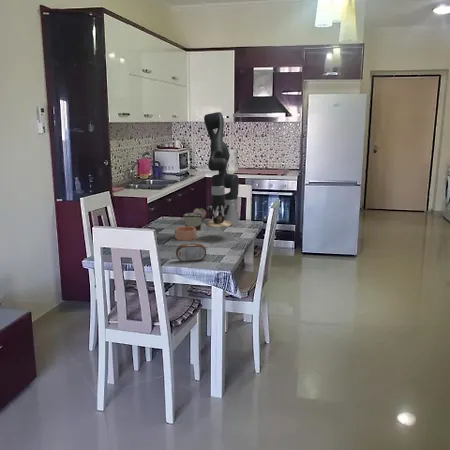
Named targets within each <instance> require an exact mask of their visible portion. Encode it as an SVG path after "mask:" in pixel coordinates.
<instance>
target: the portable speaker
mask: <svg viewBox="0 0 450 450" xmlns="http://www.w3.org/2000/svg"><path fill="white" fill-rule="evenodd" d="M175 255H176V257H177V259H178V260H179V261H181V262H184V263H185V262H199V261H200V262H201V261H203V260H204V259H206V256H207V249H206V247H205V246H204V245H203V244H201V243H194V244H193V243H190V244H189V243H188V244H187V243H184V244H180V245H179V246H178V247H177V248H176V250H175Z"/></svg>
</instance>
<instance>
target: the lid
mask: <svg viewBox="0 0 450 450" xmlns="http://www.w3.org/2000/svg"><path fill="white" fill-rule="evenodd" d="M216 217H217V224H215V223H214V222H213V219H212V220H208V221H206V222H205V226H206V227H208V228H215V229H217V228H219V229H221V228H222V229H223V228H228V227H232V226H231V225H232V223H231V222H230V221H226V220H224V222H223V223H222V216H221V215H217V216H216Z"/></svg>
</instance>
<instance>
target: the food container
mask: <svg viewBox="0 0 450 450" xmlns="http://www.w3.org/2000/svg"><path fill="white" fill-rule="evenodd" d="M202 218H203V216H202V214H199V213H193V212H189V213H188V212H187V213H185V214H183V219H184V226H188V227H194V228H196V232H198V231H201V230H202V221H203V220H202Z"/></svg>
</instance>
